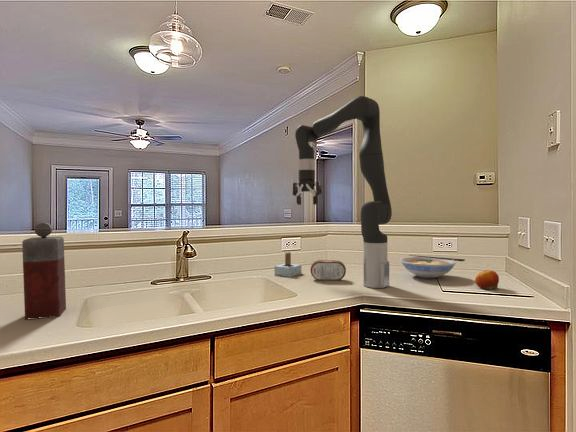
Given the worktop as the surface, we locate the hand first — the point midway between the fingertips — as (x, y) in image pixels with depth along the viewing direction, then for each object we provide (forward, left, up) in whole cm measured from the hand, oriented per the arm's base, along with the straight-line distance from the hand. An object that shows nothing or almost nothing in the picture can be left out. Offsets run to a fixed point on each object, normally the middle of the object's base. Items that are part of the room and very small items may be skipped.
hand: (307, 204), depth 171 cm
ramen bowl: (-49, -20, -32) cm, 62 cm away
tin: (-15, +8, -32) cm, 37 cm away
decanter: (+36, +95, -32) cm, 107 cm away
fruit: (-73, -10, -32) cm, 80 cm away
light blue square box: (+7, +6, -32) cm, 33 cm away
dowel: (+7, +6, -32) cm, 33 cm away
